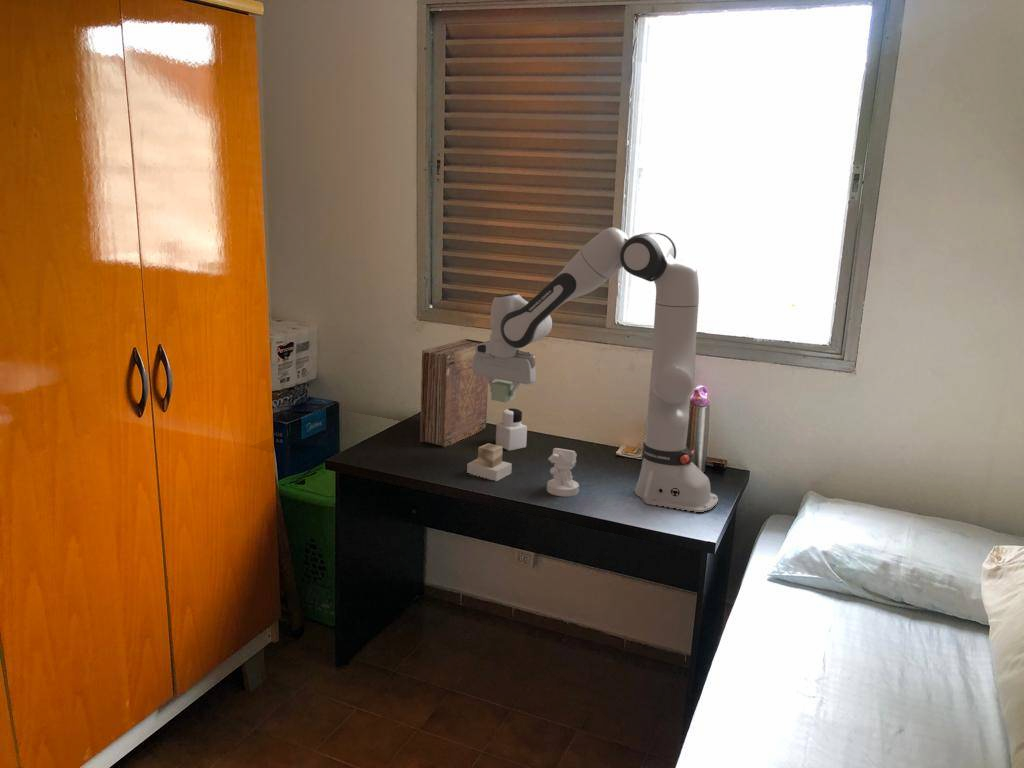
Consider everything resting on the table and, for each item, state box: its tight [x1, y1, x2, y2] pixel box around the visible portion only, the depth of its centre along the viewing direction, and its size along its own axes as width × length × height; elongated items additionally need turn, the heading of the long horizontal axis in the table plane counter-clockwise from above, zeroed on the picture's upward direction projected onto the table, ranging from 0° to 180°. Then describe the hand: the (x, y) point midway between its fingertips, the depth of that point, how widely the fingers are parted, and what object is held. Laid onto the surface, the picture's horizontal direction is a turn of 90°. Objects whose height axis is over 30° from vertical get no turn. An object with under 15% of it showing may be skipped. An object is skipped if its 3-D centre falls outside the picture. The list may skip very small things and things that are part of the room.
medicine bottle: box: [495, 407, 528, 452], centre depth 257 cm, size 7×7×12 cm
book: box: [419, 338, 489, 449], centre depth 263 cm, size 25×9×30 cm, turn 150°
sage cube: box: [490, 379, 515, 403], centre depth 241 cm, size 5×5×5 cm
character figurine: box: [546, 447, 580, 497], centre depth 223 cm, size 9×10×12 cm
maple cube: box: [477, 442, 504, 468], centre depth 233 cm, size 5×5×5 cm
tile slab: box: [466, 458, 513, 482], centre depth 234 cm, size 10×8×3 cm
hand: (503, 394), depth 241 cm, fingers closed on sage cube, 5 cm apart
